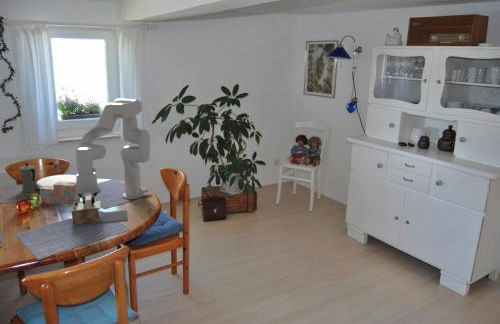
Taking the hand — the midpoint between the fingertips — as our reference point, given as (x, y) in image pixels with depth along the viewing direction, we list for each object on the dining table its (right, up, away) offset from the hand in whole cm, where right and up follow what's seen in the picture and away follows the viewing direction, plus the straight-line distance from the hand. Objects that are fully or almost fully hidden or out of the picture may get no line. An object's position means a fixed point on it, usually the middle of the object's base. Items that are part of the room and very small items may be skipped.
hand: (89, 204), depth 217 cm
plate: (-40, +6, +54) cm, 67 cm away
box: (-2, -8, +2) cm, 9 cm away
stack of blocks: (-26, -2, +26) cm, 37 cm away
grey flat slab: (+11, -7, +6) cm, 15 cm away
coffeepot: (-54, +4, +45) cm, 71 cm away
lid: (0, -1, 0) cm, 1 cm away
